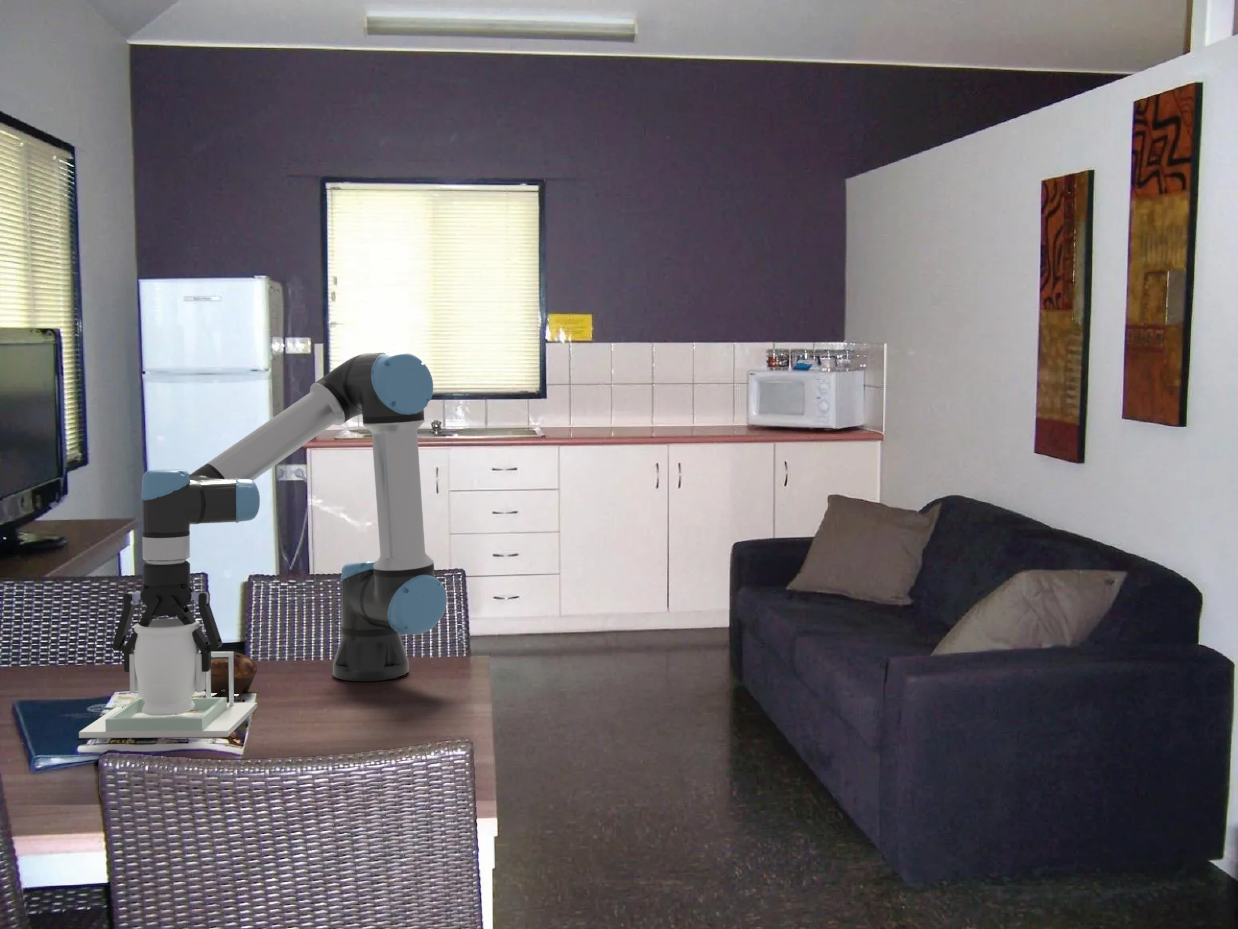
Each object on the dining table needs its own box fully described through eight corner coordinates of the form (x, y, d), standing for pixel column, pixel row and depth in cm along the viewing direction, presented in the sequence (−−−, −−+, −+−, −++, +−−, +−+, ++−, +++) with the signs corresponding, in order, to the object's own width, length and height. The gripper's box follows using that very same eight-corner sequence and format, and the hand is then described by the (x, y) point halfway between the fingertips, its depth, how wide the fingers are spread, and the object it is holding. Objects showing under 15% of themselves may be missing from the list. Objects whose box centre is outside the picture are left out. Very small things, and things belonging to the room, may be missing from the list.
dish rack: (257, 708, 218) (256, 649, 218) (227, 737, 199) (227, 673, 199) (121, 709, 217) (120, 650, 217) (79, 738, 198) (77, 673, 198)
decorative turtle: (192, 704, 221) (190, 660, 221) (215, 690, 236) (213, 649, 236) (246, 700, 222) (244, 656, 222) (265, 687, 237) (263, 646, 237)
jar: (161, 721, 199) (160, 630, 198) (121, 712, 204) (120, 624, 203) (214, 708, 208) (213, 621, 207) (174, 700, 213) (173, 615, 212)
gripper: (240, 558, 209) (242, 685, 210) (105, 558, 208) (107, 686, 209) (228, 563, 202) (230, 695, 203) (88, 563, 201) (90, 696, 202)
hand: (168, 690), depth 206 cm, fingers closed on jar, 10 cm apart
